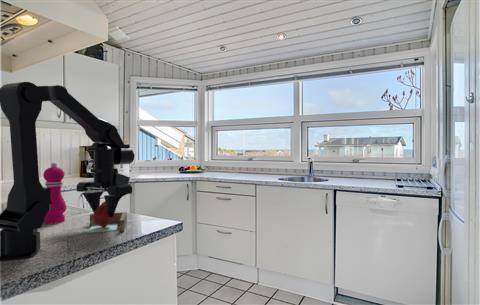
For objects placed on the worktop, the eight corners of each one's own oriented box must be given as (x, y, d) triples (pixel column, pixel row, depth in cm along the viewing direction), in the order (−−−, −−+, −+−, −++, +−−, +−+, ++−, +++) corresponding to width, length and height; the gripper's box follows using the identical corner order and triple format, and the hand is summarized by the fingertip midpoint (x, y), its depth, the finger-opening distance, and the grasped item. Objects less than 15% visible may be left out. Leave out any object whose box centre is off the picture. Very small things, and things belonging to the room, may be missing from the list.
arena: (82, 235, 81) (82, 222, 81) (90, 224, 93) (90, 213, 93) (123, 231, 84) (124, 220, 84) (126, 222, 96) (126, 211, 96)
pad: (87, 232, 83) (87, 231, 83) (92, 226, 91) (92, 225, 91) (115, 230, 86) (115, 229, 86) (118, 224, 93) (118, 223, 93)
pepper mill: (68, 218, 101) (68, 162, 101) (63, 223, 94) (64, 162, 94) (44, 219, 98) (44, 162, 98) (38, 225, 92) (38, 163, 91)
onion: (106, 230, 85) (106, 203, 85) (88, 229, 86) (88, 203, 86) (117, 225, 90) (117, 200, 90) (101, 224, 92) (101, 199, 91)
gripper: (145, 165, 91) (145, 213, 91) (106, 163, 99) (106, 208, 99) (116, 166, 81) (116, 221, 81) (75, 165, 89) (75, 214, 90)
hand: (103, 215), depth 88 cm, fingers open, 6 cm apart
